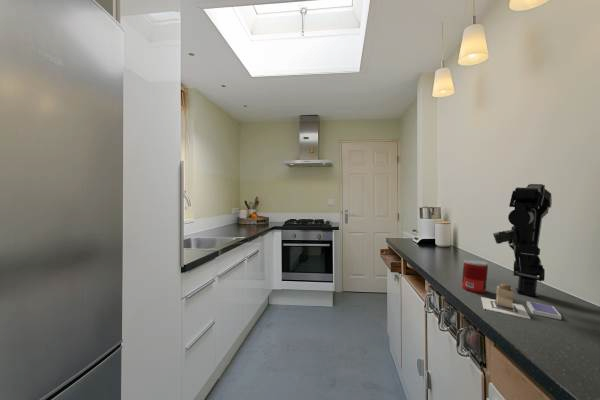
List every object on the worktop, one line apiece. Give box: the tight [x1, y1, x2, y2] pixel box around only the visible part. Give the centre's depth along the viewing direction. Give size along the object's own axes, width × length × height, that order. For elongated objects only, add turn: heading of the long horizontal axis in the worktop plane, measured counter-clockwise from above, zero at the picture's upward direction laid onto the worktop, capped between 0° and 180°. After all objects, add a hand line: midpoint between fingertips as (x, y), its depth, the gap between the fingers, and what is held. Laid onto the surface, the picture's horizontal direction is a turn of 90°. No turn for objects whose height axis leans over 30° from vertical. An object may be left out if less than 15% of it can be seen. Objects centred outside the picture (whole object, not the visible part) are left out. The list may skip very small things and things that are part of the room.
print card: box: [480, 296, 531, 320], centre depth 96 cm, size 12×12×1 cm
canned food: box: [461, 259, 489, 294], centre depth 113 cm, size 8×8×11 cm
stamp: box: [495, 283, 514, 311], centre depth 96 cm, size 4×4×7 cm
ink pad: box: [526, 300, 562, 321], centre depth 94 cm, size 9×7×1 cm
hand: (520, 269), depth 100 cm, fingers open, 9 cm apart
